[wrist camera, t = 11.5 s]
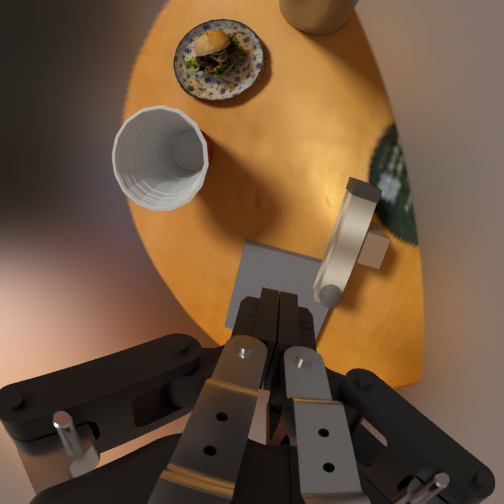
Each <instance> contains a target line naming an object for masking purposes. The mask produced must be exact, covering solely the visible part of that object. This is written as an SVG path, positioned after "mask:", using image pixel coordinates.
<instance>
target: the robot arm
mask: <svg viewBox="0 0 504 504" xmlns="http://www.w3.org/2000/svg"><path fill="white" fill-rule="evenodd" d="M357 2H358V0H279V4H280V10H281V13H282V15H283V16H284V18H285V19H286V20H287V22H288V23H290V24H291V25H292V26H293V27H295V28H297V29H299V30H300V31H303V32H306V33H311V34H328V33H332V32H334V31H337V30H338V29H340V28H341V27H342V26H343V25H344V24H345V23H346V21H347V20H348V18H349V16H350V14H351V13H352V11H353V9H354V7H355V6H356V4H357ZM313 324H314V321H313V315H312V314H311V312H310V311H309V310H308V308H305V307H299V306H298V295H297V294H293V293H289V292H284V291H280V293H279V290H274V289H269V288H264V287H262V290H261V295H260V298H256V297H251V296H247V297H245V298H244V299H243V300H242V301H241V303H240V306H239V310H238V313H237V317H236V321H235V324H234V328H233V332H232V335H231V338H230V339H229V340H228V341H227V342H226V344H225V345H223V346H220V347H216V348H202V347H201V345H200V343H199V342H198V341H197V340H196V339H195V338H193V337H191V336H189V335H186V334H179V333H175V334H170V335H166V336H163V337H161V338H158V339H155V340H152V341H149V342H146V343H143V344H140V345H137V346H134V347H132V348H129V349H126V350H123V351H120V352H116V353H113V354H110V355H107V356H104V357H101V358H98V359H95V360H92V361H88V362H85V363H82V364H79V365H75V366H72V367H69V368H66V369H62V370H59V371H56V372H52V373H49V374H45V375H42V376H38V377H35V378H32V379H28V380H24V381H20V382H17V383H13V384H10V385H7V386H5V387H3V388H2V389H0V420H1V422H2V423H3V425H4V427H5V430H6V432H7V433H8V435H9V436H10V438H11V439H12V441H13V442H14V444H15V445H16V447H17V450H18V453H19V455H20V458H21V461H22V463H23V465H24V468H25V470H26V473H27V475H28V477H29V479H30V482H31V484H32V486H33V488H34V491H35V492H36V496H35V497H34V498H33V499H32V501H31V502H30V504H479V503H480V502H482V501H483V500H484V499H486V498H487V497H488V496H490V495H491V494H492V492H493V490H494V488H495V478H494V475H493V473H492V472H491V470H490V469H489V468H488V467H487V466H485V465H484V464H483V463H481V462H480V461H479V460H478V459H477V458H475V457H474V456H473V455H472V454H471V453H469V452H468V451H467V450H466V449H464V448H463V447H462V446H460V444H458V443H457V442H456V441H455V440H453V439H452V438H451V437H450V436H448V435H447V434H446V433H445V432H443V430H441V429H440V428H439V427H437V426H436V425H435V424H434V423H433V422H432V421H430V420H429V419H428V418H427V417H426V416H424V415H423V414H422V413H421V412H419V411H418V410H417V409H416V408H415V407H414V406H412V405H411V404H410V403H409V402H408V401H406V400H405V399H404V398H403V397H402V396H400V395H399V394H398V393H397V392H396V391H395V390H393V389H392V388H391V387H390V386H389V385H387V384H386V383H385V382H384V381H383V380H381V379H380V378H379V377H378V376H377V375H375V374H374V373H372V372H371V371H368V370H365V369H359V368H358V369H352V370H350V371H348V372H347V374H346V376H345V375H342V374H339V373H337V372H334V371H332V370H330V369H328V368H327V367H325V365H324V361H323V358H322V357H321V355H320V354H319V353H317V350H316V340H315V331H314V325H313ZM263 382H264V387H263V389H264V390H269V391H270V397H269V400H268V402H267V405H266V445H264V444H261V443H258V442H256V441H253V440H250V439H248V434H249V430H250V427H251V423H252V418H253V415H254V411H255V406H256V402H257V398H258V394H259V392H258V390H259V389H262V386H263ZM192 410H193V411H192ZM191 411H192V413H191V415H190V418H189V420H188V422H187V424H186V426H185V429H184V431H183V433H179V434H173V435H169V436H165V437H162V438H159V439H157V440H155V441H153V442H151V443H149V444H147V445H145V446H143V447H141V448H139V449H137V450H135V451H134V452H131V453H129V454H127V455H125V456H123V457H121V458H118V459H116V460H114V461H112V462H110V463H108V464H106V465H103V466H101V467H99V468H96V469H94V468H95V467H96V466H97V465H98V463H99V461H100V453H102V452H105V451H107V450H110V449H112V448H115V447H117V446H119V445H122V444H124V443H126V442H128V441H131V440H133V439H136V438H138V437H140V436H142V435H144V434H147V433H149V432H151V431H153V430H155V429H157V428H159V427H162V426H164V425H166V424H167V423H170V422H172V421H174V420H176V419H178V418H180V417H182V416H184V415H186V414H188V413H189V412H191ZM364 418H365V419H366V420H367V421H368V422H369V423H370V424H371V425H372V426H373V427H374V428H375V429H377V430H378V431H379V432H380V433H381V434H382V435H383V436H384V437H385V438H386V440H387V447H386V446H384V445H383V444H382V443H381V442H380V441H379V440H378V439H377V438H375V436H373V435H372V434H371V433H370V432H369V431H368V430H367V429H366V428H365V427H364V426H363V425H362V424H361V422H362V421H363V420H364ZM93 469H94V470H93Z"/></svg>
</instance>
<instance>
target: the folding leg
mask: <svg viewBox="0 0 504 504" xmlns="http://www.w3.org/2000/svg"><path fill="white" fill-rule="evenodd" d="M346 189H347V190H346V193H345V196H344V200H343V203H342V206H341V209H340V212H339V215H338V218H337V221H336V224H335V227H334V230H333V232H332V235H331V238H330V241H329V244H328V247H327V250H326V252H325V255H324V258H323V261H322V263H321V266H320V269H319V272H318V274H317V277H316V280H315V282H314V285H313V291H314V298H315V302H319V303H321V304H322V305H323V306H324V307H327V308H333V307H337V305H339V304H340V302H341V300H342V293H343V291H344V288H345V286H346V284H347V281H348V279H349V276H350V274H351V271H352V269H353V266H354V264H355V261H356V259H357V256H358V254H359V251H360V248H361V246H362V243H363V240H364V238H365V235H366V232H367V230H368V227H369V224H370V221H371V219H372V216H373V213H374V210H375V207H376V204H377V203H378V202H379V199H380V196H381V193H382V190H381V189H379V188H377V187H376V186H374V185H372V184H370V183H367V182H364V181H361V180H358V179H355V178H352V177H349V181H348V184H347V187H346Z"/></svg>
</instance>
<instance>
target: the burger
mask: <svg viewBox="0 0 504 504" xmlns="http://www.w3.org/2000/svg"><path fill="white" fill-rule="evenodd" d="M264 50H265V47H264V44H263V42H262V41H261V40H260V38H259V37H258V36H257V35H256V33H255V32H254V31H253V30H251V28H249V27H248V26H246V25H244V24H242V23H241V22H238V21H234V20H226V19H219V20H210V21H208V22H205V23H202V24H200V25H198V26H196V27H195V28H193V29H192V30H191V31H189V33H187V34H186V35H185V36H184V38H183V39H182V40H181V41H180V43H179V45H178V47H177V49H176V52H175V56H174V71H175V75H176V79H177V81H178V82H179V84H180V86H181V88H182V89H183V90H184V91H185V92H186V93H188V94H189V95H190V96H193V97H196V98H199V99H202V100H206V101H219V100H225V99H231V98H234V97H236V96H237V95H239V94H240V93H242V92H243V91H244V90H246V89H247V88H249V87H251V86H252V85H253V84H254V82H255V81H256V80H257V79H260V77H261V75H262V73H263V70H264V67H265V64H266V63H265V62H264V60H265V59H266V57H265V52H264Z"/></svg>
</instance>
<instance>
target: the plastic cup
mask: <svg viewBox="0 0 504 504" xmlns="http://www.w3.org/2000/svg"><path fill="white" fill-rule="evenodd" d="M212 155H213V148H212V143H211V141H210V139H209V137H208V136H207V135H206V134H205V133H204V132H203V131H202V130H201V129H199V127H198V125H197V123H195V122H194V121H193V120H192V119H191V118H189V117H188V116H187V115H186V114H184V113H183V112H182V111H181V110H178V109H175V108H171V107H167V106H163V105H158V106H153V107H148V108H143V109H141V110H139V111H138V112H136V113H135V114H134V115H132V116H131V117H129V118H128V119H127V120H126V121H125V122H124V124H123V126H122V127H121V129H120V130H119V132H118V134H117V135H116V138H115V142H114V147H113V152H112V160H113V168H114V174H115V177H116V179H117V181H118V182H119V185H120V187H121V189H122V190H123V192H124V193H125V194H126V195H127V196H128V197H129V198H130V199H131V200H133V201H134V202H135V203H136V204H137V205H139V206H142V207H144V208H147V209H150V210H152V211H172V210H174V209H176V208H178V207H180V206H182V205H184V204H186V203H188V202H190V201H191V199H192V198H193V197H194V196H195V194H196V193H197V192H198V191H199V190H200V188H201V187H202V186H203V182H204V179H205V175H206V172H207V169H208V166H209V163H210V161H211V158H212Z"/></svg>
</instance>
